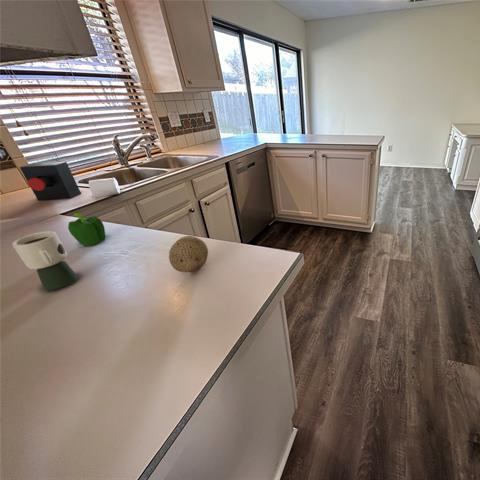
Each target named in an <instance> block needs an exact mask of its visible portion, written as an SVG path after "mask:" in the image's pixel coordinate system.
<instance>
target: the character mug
mask: <svg viewBox="0 0 480 480" xmlns="http://www.w3.org/2000/svg"><path fill="white" fill-rule="evenodd" d="M12 247H13V248H14V250H15V251H16V253H17V254H18V256H19V257H20V259H21V260H22V262H23V263H24V265H25V267H27V268H28V269H29V270H36V273H37V275H38V278H39V280H40V283H41V284H42V287H43V288H44V290H45V291H52V290H58V289H60V288H65V287H66V286H70V285H72V284H73V283H75V282H76V281H77V280H78V276H77V274H76V273H75V272H74V270H73V268H71V267H70V265H69V264H68V263H67V261H65V259H66V258H67V257H68V253H67V251H66V249H65V247H64V245H63V243H62V242H61V240H60V238H59V236H58V234H57V232H55V231H52V230H51V231H50V230H49V231H40V232H36V233H35V232H34V233H31V234H28V235H25V236H21V237H19V238H17V239H15V240H14V241H13V242H12Z"/></svg>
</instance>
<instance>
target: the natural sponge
mask: <svg viewBox="0 0 480 480" xmlns="http://www.w3.org/2000/svg"><path fill="white" fill-rule="evenodd" d="M168 254H169V255H168V260H169V263H170V265H171V267H172V268H173V269H174V270H175V271H177V272H181V273H191V274H192V273H193V274H194V273H197V272H198V271H200V270H201V269H202V268H203V267H204V266H205V264H206V262H207V260H208V255H209V249H208V246H207V244H206V243H205V242H204V241H203V240H202V239H201V238H198V237H197V236H192V235H185V236H182V237H180V238H179V239H177V240H176V241H175V242H174V243H173V244H172V245H171V247H170V249H169V251H168Z"/></svg>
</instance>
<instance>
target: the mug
mask: <svg viewBox="0 0 480 480" xmlns="http://www.w3.org/2000/svg"><path fill="white" fill-rule="evenodd" d="M88 188H89V191H90V192H91V194H92V196H93V197H94V198H100V197H101V198H102V197H108V196H109V197H110V196H115V195H120V194H121V188H120V185H119V182H118V180H117V179H116V178H115V177H110V178H100V179H92V180H88Z"/></svg>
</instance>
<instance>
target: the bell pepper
mask: <svg viewBox="0 0 480 480" xmlns="http://www.w3.org/2000/svg"><path fill="white" fill-rule="evenodd" d="M72 216H73V217H78V218H77V219H75V220H71V221H68V226H67V228H68V231H69V233H70V235H71V236H72V237H73V238H74V240H76V241H77V242H78V243H79V244H80V245H83V246H84V247H92V246H96V245H99V244H100V243H101V242H104V241H105V240H106V229H105V226H104V223H103V221H102V220H101V219H100V218H99V217H97V216H96V215H94V216H93V215H92V216H88V217H87V218H86V217H84V216H83V215H82V214H80V213H78V212H76V213H73V214H72Z"/></svg>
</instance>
